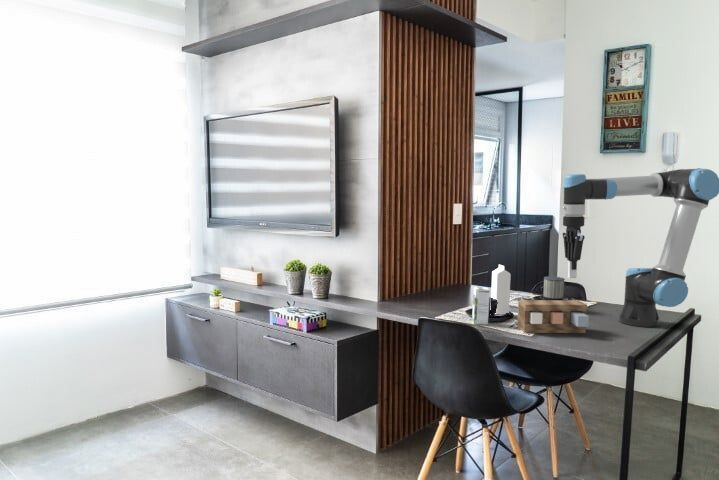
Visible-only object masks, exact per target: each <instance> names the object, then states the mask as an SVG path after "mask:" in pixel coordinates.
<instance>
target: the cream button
mask: <svg viewBox="0 0 719 480" xmlns="http://www.w3.org/2000/svg"><path fill="white" fill-rule="evenodd" d="M542 316H543V314H542V313H541V312H539V311H529V322H530V323H531V324H542Z"/></svg>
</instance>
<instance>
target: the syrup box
mask: <svg viewBox="0 0 719 480" xmlns="http://www.w3.org/2000/svg"><path fill="white" fill-rule="evenodd" d="M490 296H491V289H489V288H488V287H486V286H474V287H473V299H472V314H471V321H472V323H473V324H474V325H488V324H489V315H490V314H489V311H490Z"/></svg>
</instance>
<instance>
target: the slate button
mask: <svg viewBox="0 0 719 480" xmlns="http://www.w3.org/2000/svg"><path fill="white" fill-rule="evenodd" d="M589 319H590V316H589V315H588V314H587V315H585V314H584V313H582V312H580V311H570V323H572V324H574V325H576V326H577V327H586V328H588V327H589Z"/></svg>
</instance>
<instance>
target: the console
mask: <svg viewBox="0 0 719 480" xmlns="http://www.w3.org/2000/svg"><path fill="white" fill-rule="evenodd" d="M529 311H539V312H541V313H542V314H543V316H542V324H531V323H530V322H529ZM550 311H560V312H561V313H563V324H552V323H550V322H549V315H550ZM570 311H580V312H582V313H584V314H585V315H587V316H588V304H586V303H585V302H582V301H581V300H576V299H574V300H570V299H569V300H567V299H566V300H564V299H563V300H543V299H541V300H540V299H538V300H537V299H533V300H526V299H518V302H517V321H516V322H517V323H516V324H517V325H516V326H517V327H518V328H517V327H516V328H517V329H518V330H520V329H521V330H522V331H523V333H524V334H526V333H525V332H534V333H533V334H586V332H587V331H586V330H587V329H586V328H587V327H577V326H576V325H574V324H572V323H570ZM521 330H520V331H521ZM522 331H521V332H522Z"/></svg>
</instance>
